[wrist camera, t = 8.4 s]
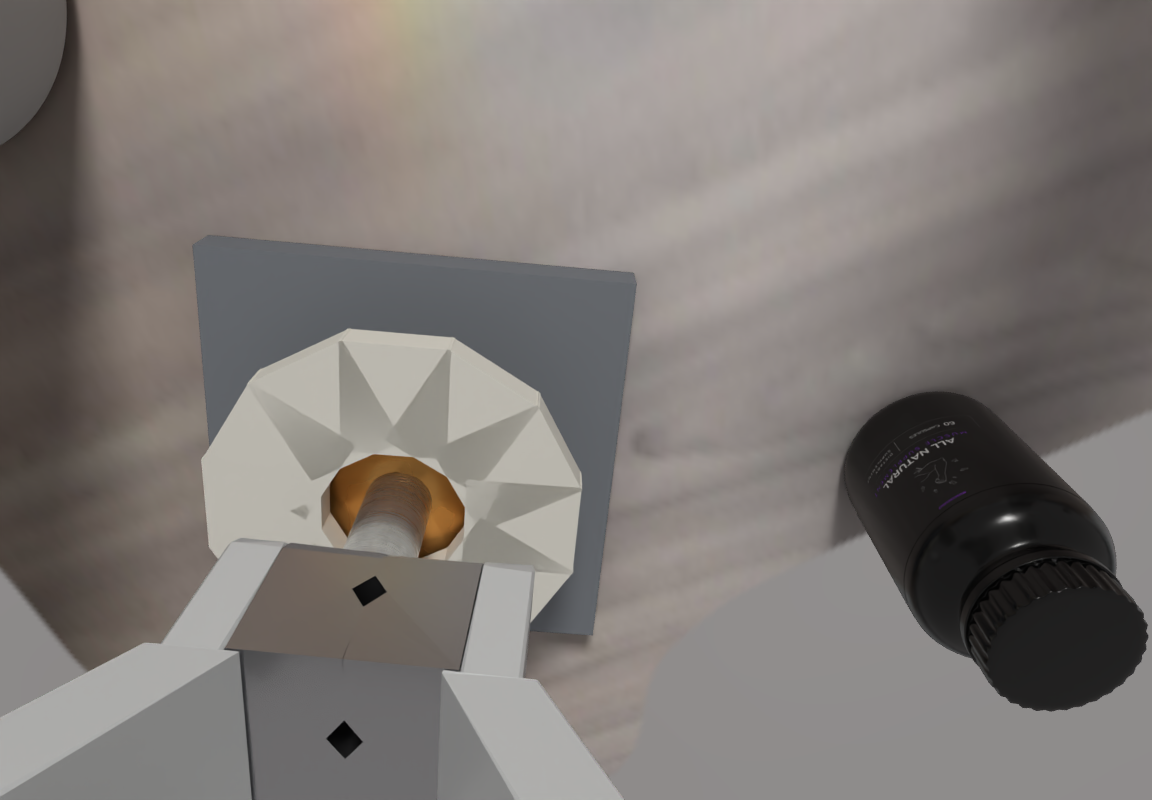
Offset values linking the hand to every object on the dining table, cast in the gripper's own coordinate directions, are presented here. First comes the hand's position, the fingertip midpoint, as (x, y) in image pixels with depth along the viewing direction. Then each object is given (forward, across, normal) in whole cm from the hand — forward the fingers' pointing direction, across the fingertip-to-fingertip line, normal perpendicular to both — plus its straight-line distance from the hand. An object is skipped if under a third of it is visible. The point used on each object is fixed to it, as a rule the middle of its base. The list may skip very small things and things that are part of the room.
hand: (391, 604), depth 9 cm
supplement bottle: (+26, -17, +11) cm, 32 cm away
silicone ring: (+20, +4, +12) cm, 23 cm away
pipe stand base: (+24, +4, +12) cm, 27 cm away
